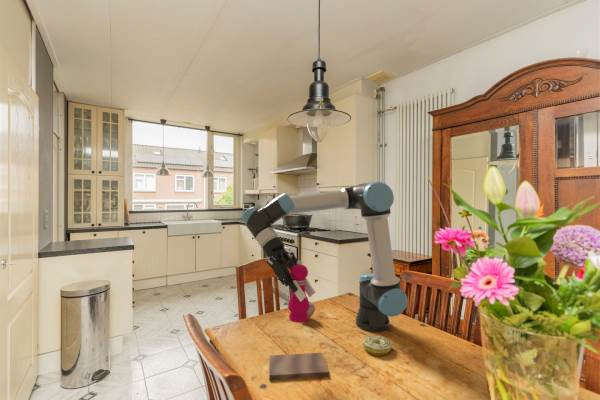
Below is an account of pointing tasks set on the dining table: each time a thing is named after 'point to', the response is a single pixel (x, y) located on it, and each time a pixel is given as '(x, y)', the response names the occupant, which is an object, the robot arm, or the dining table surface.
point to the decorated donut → (377, 345)
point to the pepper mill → (295, 306)
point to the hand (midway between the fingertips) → (308, 296)
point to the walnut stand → (297, 366)
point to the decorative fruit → (311, 309)
